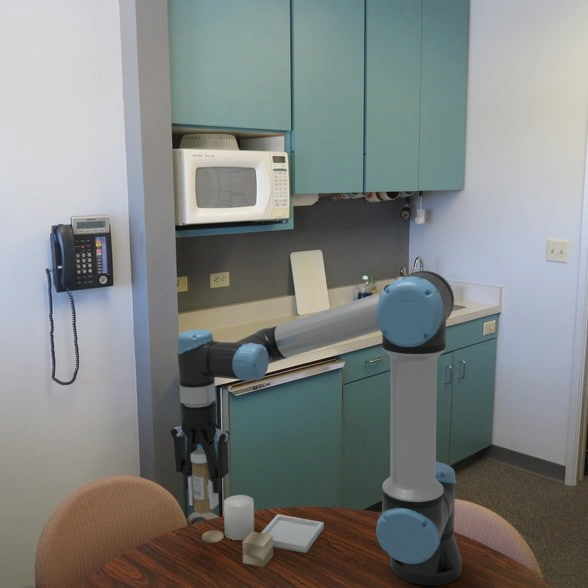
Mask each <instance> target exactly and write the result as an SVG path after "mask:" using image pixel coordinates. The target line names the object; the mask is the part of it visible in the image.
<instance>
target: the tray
mask: <svg viewBox="0 0 588 588" xmlns="http://www.w3.org/2000/svg"><path fill="white" fill-rule="evenodd" d="M324 523H325V522H322V521H318V520H313V519H308V518H307V519H305V518H300V517H295V516H289V515H284V514H278V513H277V514H276V516H274V518H273V519H272V520H270V522H269V524H267V525H266V526H265V528H263V530H262V531H261V532H260V533H264V534H269V535H273V548H277V549H283V550H287V551H292V552H296V553H298V552H299V553H301V554H302V553H304V554H307V553H308V552H309V550H310V548H311V547H312V546H313V544H314V543H315V542H316V540H317V539H318V537H319V536H320V535H321V533H322V532H323V530H324V526H325V525H324Z"/></svg>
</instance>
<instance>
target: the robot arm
mask: <svg viewBox="0 0 588 588" xmlns="http://www.w3.org/2000/svg"><path fill="white" fill-rule="evenodd" d="M454 306H455V295H454V291H453V288H452V287H451V284H450V283H449V282H448V281H447V280H446V278H444V277H443V276H441V275H440V274H438V273H436V272H435V271H434V272H433V271H430V270H419V271H414V272H411V273H409V274H408V275H406V276H404V277H401V278H398V279H396V280H395V281H393V282H392V283H389V284H386V285H384V286H383V287H382V289H381V291H380V292H377V293H374V294H372V295H368V296H365V297H362V298H359V299H356V300H353V301H349V302H347V303H344V304H341V305H337V306H335V307H331V308H328V309H324V310H322V311H318V312H316V313H312V314H309V315H307V316H303V317H299V318H297V319H293V320H291V321H287V322H284V323H281V324H278V325H277V326H270V327H266V328H263V329H259V330H258V331H256V332H254V333H253V334H250V335H249V336H245V337H244V338H241V339H238V340H237V341H236V342H233V341H232V342H229V341H228V342H227V341H226V342H224V341H216V340H215V341H214V337H213V332H211V331H210V330H206V329H192V330H191V329H190V330H186V331H185V330H184V331H183V332H181V333H179V334H178V336H177V353H176V355H177V361H178V372H179V373H178V374H179V398H180V403H181V405H180V412H181V421H182V423H181V425H177V426H175V427H173V428H172V429H171V430H170V434H171V437H172V440H173V447H174V458H175V470H176V472H177V473H181V474H183V476H184V487H185V489H186V490H188V505H189V506H195V503H194V495H193V480H192V463H191V453H192V452H193V451H195V450H196V449H198V446H199V445H200V446H201V447H202V448H203V450H204V451H205V455H206V459H207V463H208V467H209V471H210V475H211V478H210V479H209V480H208V486H209V504H210V509H213V508H214V509H215V508H216V507H217V506H218V505H220V504H219V493H221V491H222V485H221V484H222V480H221V479H224V478H225V477H226V476H227V475H228V474H229V470H230V469H229V443H228V442H229V440H230V439H229V438H230V436H231V434H230V432H229V431H228V430H227V431H226V430H225V431H223V430H221V429H219V425H218V424H217V415H218V413H217V402H216V401H215V400H216V379H215V378H218V379H219V378H221V379H230V380H231V379H232V380H240V381H246V382H247V381H248V382H249V381H259V380H262V379H263V378H264V377H265V375H266V373H267V371H268V369H269V364H272V363H276V362H278V361H281V360H285V359H288V358H291V357H295V356H298V355H301V354H304V353H308V352H312V351H314V350H318V349H322V348H325V347H328V346H329V347H330V346H332V345H335V344H338V343H343V342H345V341H351V340H353V339H356V338H359V337H363V336H367V335H370V334H373V333H377V332H380V333H382V334H381V335H382V339H381V341H382V345H381V346H382V350H383V351H384V352H385V353H386V354H387V355H388V356H389V358H390V388H389V389H390V402H389V403H390V408H389V409H390V411H389V412H390V413H389V414H390V415H389V416H390V421H389V424H390V425H389V426H390V427H389V428H390V435H389V436H390V441H389V442H390V446H389V447H390V448H389V449H390V451H389V452H390V453H389V454H390V456H389V457H390V460H389V462H390V465H389V466H390V468H389V469H390V470H389V473H390V474H389V475H390V476H389V477H387V478H386V479H385V480H384V481H383V483H382V487H381V488H382V491H381V492H382V497H381V498H382V499H381V501H382V503H381V504H382V505H381V506H382V507H381V515H379V517H378V519H377V523H376V529H375V532H376V533H375V535H376V539H377V541H378V543H379V546H380V547H381V548H382V550H384V551H385V552H386V553H387V555H389V567H390V569H391V571H392V572H393V573H394V574H395V575H396V576H398V577H399V578H400V579H402V580H404V581H406V582H409V583H412V584H415V585H421V586H428V587H429V586H431V587H433V586H435V587H437V586H443V585H448V584H450V583H452V582H454V581H455V580H457V579H458V578H459V577H460V575H461V574H462V567H463V565H462V561H463V560H462V556H461V553H460V551H459V547H458V543H457V540H456V537H455V512H456V511H455V510H456V508H455V506H456V505H455V503H456V501H455V500H456V484H457V480H456V472H455V470H454V468H452V466H450V465H449V464H446V463H443V462H441V461H436V460H437V405H438V404H437V399H438V398H437V395H438V394H437V393H438V392H437V391H438V387H437V386H438V383H437V382H438V358H439V357H440V356H441V355H442V354H443V353H445V351H446V350H447V349H446V348H447V347H446V342H447V321H448V319H449V317H450V316H451V314H452V313H453V310H454ZM184 435H185V436H186V438H187V439H186V440H187V441H186V445H185V436H184ZM215 437H216V441H217V451H216V447H215V446H216V442H215Z"/></svg>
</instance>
